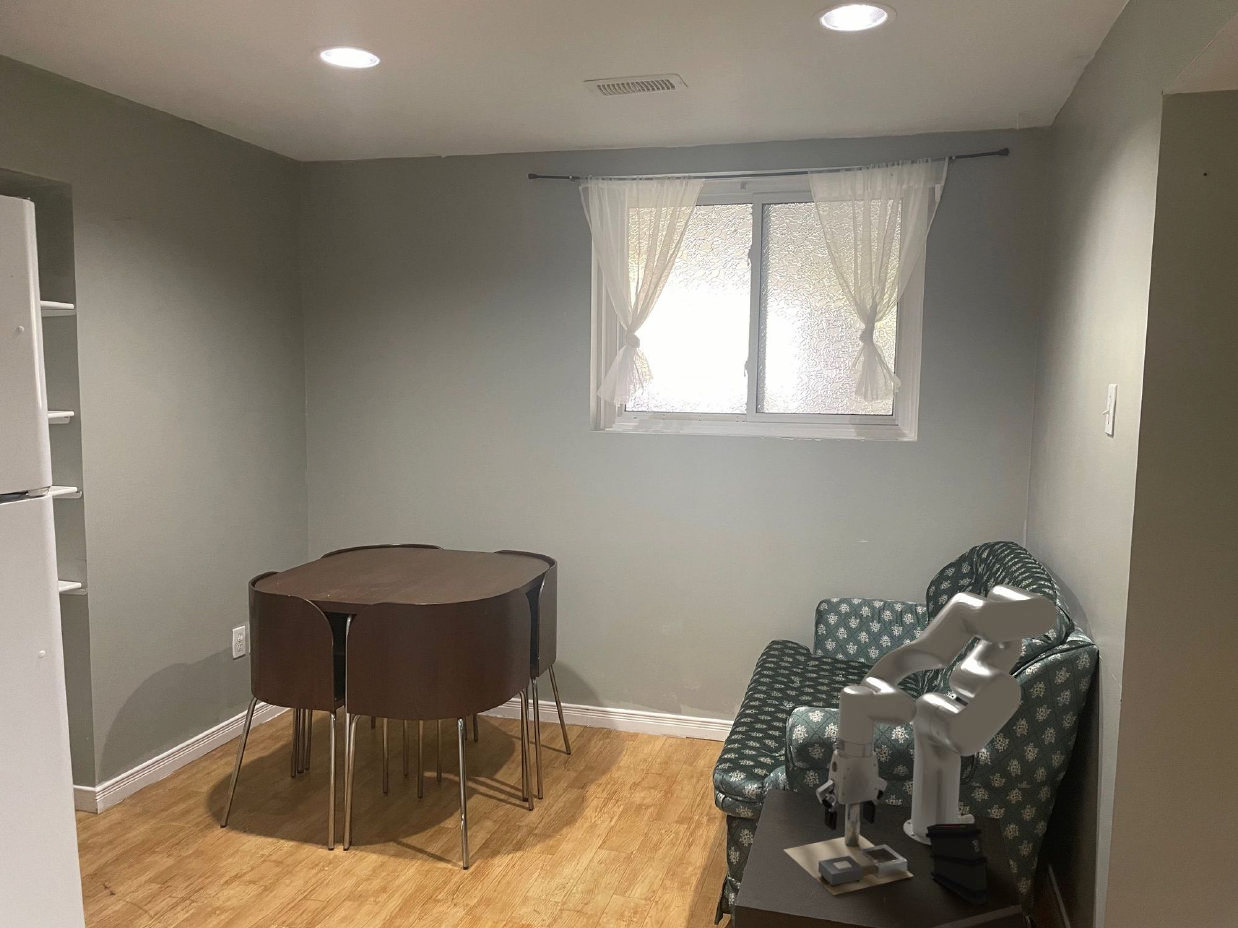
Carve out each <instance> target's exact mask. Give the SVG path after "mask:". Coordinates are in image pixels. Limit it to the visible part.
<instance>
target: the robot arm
mask: <svg viewBox="0 0 1238 928" xmlns="http://www.w3.org/2000/svg"><path fill="white" fill-rule="evenodd" d="M1056 606H1057V605H1055V603H1054V602H1053V601H1052V600H1051V599H1049V598H1048V597H1046V596H1044V595H1042V594H1037V593H1036V592H1032V591H1029V590H1027V589H1024V588H1022V587H1018V586H1015V585H1010V584H1007V583H1006V584H1002V583H1001V584H997V585H995V586H993V587H992V588H991V589H990V590H989V592H988V594H987V596H986V597H985V596H982V595H979V594H977V593H973V592H970V591H962V592H959V593H956V594H955V595H953V596H952V597H951V598H950V599H949V600H948V601H947V602H946V604H945V605H944V606H943V607H942V609H941V610H940V611H939V612H938V613H937V615H936V616H935V617H934V618H933V619H932V621H931V622H930V623H929V624H928V625H927V626H926V628H924V630H923V631H922V632H921V633H920V635H918V637H917V638H916V639H914V640H912V641H910V642H908V643H906V644H903V645H902V646H899V647H898V648H895V649H893V650H891V651H890V652H888V653H887V654H885V655H883V656H882V657H881V658H879V660H878V661H877V662H876V663H875V664H874V665H873V666H872V668H870V670H869V671H868V672H867V674H865V676H864V677H863V678H862V680H861V682H860V684H859V685H847V686H845V687H843V688H841V690H840V694H839V703H838V717H837V720H838V721H837V733H836V734H837V736H836V742H833V743H832V749H833V754H832V757H831V761H830V766H829V771H828V780H827V782H826V783H824V784H822V785H821V786H819V787H818V788H817V789H816V790H815V794H816V796H817V799H818V801H819V803H820V804H821V805H822V806H823V807H824V824H825V826H827V827H828V828H829V829H831V830H832V831H836V830H837V821H838V820H837V819H838V812H837V811H836V810H837V808H838V807H839V805H840V804H841V805H846V804H851V803H857V802H861V803H862V802H863V806H862V807H863V808H862V819H864V820H865V821H867V822H868V823H870V824H875V819H876V817H875V816H876V808H877V807H876V806H878V805H879V804H880V802H879V800H880V799H882V797H883V795H884V791H885V789H886V788H887V786H888V782H887V780H884V779H882V777H879V776H880V775H879V763H878V754H877V752H875V751H874V744H875V731H876V725H881V726H888V727H889V726H890V727H902V726H906V725H908V724H909V723H911V724H912V731H913V738H914V741H913V742H914V755H913V756H914V759H913V761H914V762H913V776H912V799H911V801H912V802H911V818H910V819H908V820H906V821H905V822H904V824H903V832H904V833H905V834H906V835H907V836H909V837H910V838H912V840H915V841H917V842H919V843H921V844H924V845H929V846H931V842H930V838H926V835H925V834H926V833H928V830H927V827H928V826H932V825H935V824H962V823H975V817H974V815H972V814H971V813H969V814H964V815H962V814H961V812H960V811H959V798H960V782H961V781H960V778H961V767H962V766H961V763H962V761H961V756H963V757H969V756H973V755H976V754H977V753H979V752H981V750H983V749H984V748H985V747H986V746H987V744H989V743H990V742H991V741H992V739H993V738H994V737H995V736H996V735H997V734H998V732H999V731H1000V730H1001V729H1002V728H1003V727H1004V725H1006V724H1007V723H1008V721H1009V720H1010V719H1011V718H1012V716H1013V715H1014V714H1015V713H1016V712H1017V710H1018V708H1019V706H1020V702H1021V699H1022V688H1021V686H1020V684H1019V683H1020V682H1019V681H1018V680H1017V679H1016V677H1015V676H1013V675H1011V674H1010V671H1011V670H1012V669H1013V667H1014V666H1015V665H1016V664H1017V663H1018V661H1019V660H1020V658H1021V655H1022V651H1023V640H1025V639H1033V638H1038V637H1042V636H1044V635H1046V634H1047V633H1049V632H1051V631H1052V630H1053V629H1054V628H1055V627H1056V624H1057V622H1058V609H1057V607H1056ZM974 637H976V638H978V639H980V640H979V641H978V643H977V644H976V645H975V646H974V647H973V648H972V649H971V650H970V652H969V653H968V654H967V655H966V656H965V657H964V658H963V659H962V660H961V662H960V663H958V665H957V666H956V667H955V668H954V669H953V671H952V672H951V674H950V676H949V679H948V684H949V688H950V690H951V691H952V692H953V694H954V695H956V696H957V697H958V698H959V699H960V700H962V701H963V702H966V703H967V704H966V705H963V704H962V703H961V702H959V701H957V700H955V699H953V698H951V697H950V696H948V695H946V694H943V693H939V692H936V691H935V692H932V691H931V692H927V693H924V694H922V695H921V696H919V697H918V698H917V699H916V701H915V699H914V698H913V697H912V695H910V694H909V693H908V692H906V691H905V690H903V689H902V688H900V687H898V686H897V685H898V684H899V683H900V682H901V681H902V680H904V679H906V678H907V677H908V676H909V675H912V674H914V673H917V672H921V671H927V670H930V671H931V670H938V669H946V668H948V667H950V666H951V665H952V664H953V663H954V661H955V660H956V659H957V658H958V656H959V655H960V654H961V653H962V651H963V650H964V649H965V648H966V647H967V646H968V644H969V643H970V642H971V641H972V640H973V639H974ZM827 794H828V795H827ZM826 796H827V797H826Z"/></svg>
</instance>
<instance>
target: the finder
mask: <svg viewBox="0 0 1238 928" xmlns="http://www.w3.org/2000/svg"><path fill="white" fill-rule="evenodd" d="M818 872H819V873H820V874H821V876H822V877H824V878H825V879H826V880H827V881H828V882H829V883H830V885H831V886H832V887H834V886H835V885H836V884H839V883H845V882H850V881H855V880H856V881H857V882H859V881H860V880H861V879H863V868H862V867H861V866H860V865H859V864H858V863H857V862H856V861H855V860H854V859H853V858H851V857H850V856H845V857H839V858H833V859H828V860H822V861H819V868H818Z"/></svg>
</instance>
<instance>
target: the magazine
mask: <svg viewBox="0 0 1238 928" xmlns="http://www.w3.org/2000/svg"><path fill="white" fill-rule="evenodd" d="M927 830H928V833H926V834H925V835H926V838H930V842H931V845H930V846H931V851H932V853H930V854H929V857H930V858H932V859H933V871H930V875H931V876H933V879H934V880H935V881H937V882H938V883H940V884H941V885H943V886H944V887H946V888H947V889H949V890H950V891H952V892H954V894H956V895H958V896H960V897H961V898H962V899H964V900H965V901H967V902H968V903H969V904H971V905H973V906H979V905H982V904H984V903H987V896H988V895H990V894H991V893H990V892H991V891H990V887H989V888H988V887H987V874H986V873H987V872H986V864H988V857H987V856H984V852H983V851H984V850H983V845H982V841H981V838H980V835H982V833H983V832H982V830H981V829H980V828H979V829H978V827H977V824H976V823H975V822H974V823H962V824H935V825H932V826H928V827H927Z"/></svg>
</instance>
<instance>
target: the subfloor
mask: <svg viewBox="0 0 1238 928" xmlns="http://www.w3.org/2000/svg"><path fill="white" fill-rule="evenodd" d="M844 842H845V836H843V837H842V836H841V837H837V838H832V839H826V840H822V841H819V842H814V843H809V844H804V845H799V846H795V847H790V848H785V849H783V851H784V852H785V853H786V854H787V855H789V857H790V858H792V859H793V861H795V862H796V863H797V864H798V865H799V866H801V867H802V868H803V869H804V870H805V871H806V872H807V873H809V875H810V876H812V877H813V878H814V879H815V880H816V881H817V882H818V883H820V885H822V886H823V887H824V888H825V889H826V890H827V891H828V892H829V893H830V894H832V895H833V896H836V895H839V894H840V895H841V894H844V893H849V892H853V891H857V890H860V889H865V888H869V887H874V886H878V885H883V884H887V883H890V882H895V881H900V880H903V879H907V878H912V877H914V875H913V874H912V873H911V872H910V871H908V870H907V873H903V874H899V875H894V876H890V877H886V878H882V879H877V878H876V877H875V876H873V875H872V874H871V873H870V872H869V871H867V870H866V869H865V868H864V867H862V866H861V865H860V864H859V863H858V864H859V865H860V866H861V867H862V868H863V879H861V880H860V881H859V882H857V881H856V880H855V881H850V882H845V883H839V884H836V885H835V886H834V887H832V886H831V885H830V883H829V882H828V881H827V880H826V879H825V878H824V877H822V876H821V874H820V873H819V872H818V868H819V861H822V860H828V859H833V858H839V857H845V856H850V857H851V858H853V859H854V860H855V861H856V862H857V850H861V849H865V848H870V847H874V846H875V845H874V844H873V843H871V841H869V840H868V839H866V838H865V837H864V836H862V835H861V834H860V833H859V846H858V847H849V846H847V845H845V843H844ZM878 862H879V863H883V862H886V861H885V860H879V861H878Z"/></svg>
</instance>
